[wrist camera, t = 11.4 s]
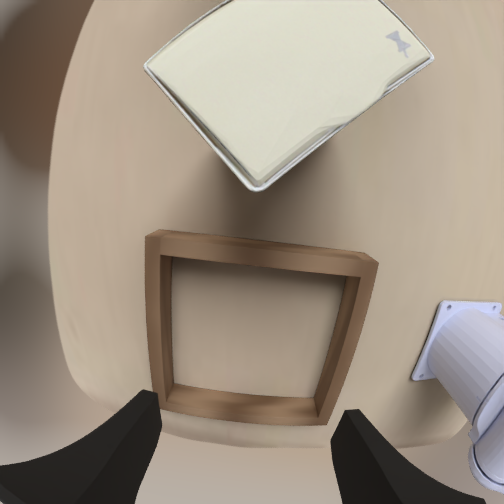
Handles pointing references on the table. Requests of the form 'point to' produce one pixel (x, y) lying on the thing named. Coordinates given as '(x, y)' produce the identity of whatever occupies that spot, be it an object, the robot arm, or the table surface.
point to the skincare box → (283, 76)
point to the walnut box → (264, 255)
